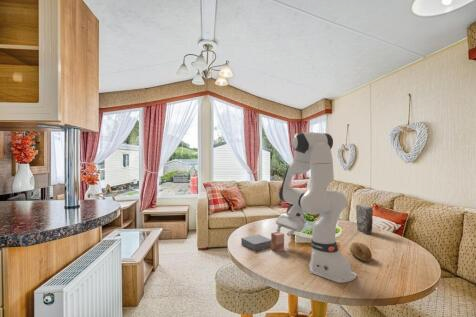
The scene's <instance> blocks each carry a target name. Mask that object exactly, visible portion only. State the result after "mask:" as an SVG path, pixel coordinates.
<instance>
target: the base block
mask: <svg viewBox="0 0 476 317" xmlns="http://www.w3.org/2000/svg"><path fill="white" fill-rule="evenodd" d="M240 240H241V245H242V246H244V247H246V248H247V249H250V250H252V251H253V252H257V251H260V250H264V249H269V248H271V238H268V237H266V236H264V235H260V234H255V235H250V236H245V237H241V239H240Z"/></svg>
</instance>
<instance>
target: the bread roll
mask: <svg viewBox="0 0 476 317" xmlns="http://www.w3.org/2000/svg"><path fill="white" fill-rule="evenodd" d="M349 252H350V254H352V255H353V256H354V257H355V258H357V259H358V260H360V261H363V262H369V261H371V260H372V257H373V256H372V255H373V254H372V251H371V249H370V248H369V246H367V244H365V243H362V242H352V243H351V244H350V247H349Z"/></svg>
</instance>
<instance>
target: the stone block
mask: <svg viewBox="0 0 476 317" xmlns="http://www.w3.org/2000/svg"><path fill="white" fill-rule="evenodd" d="M355 211H356V212H355V214H356V230H357V231H359V232H361V233H362V234H365V235H368V236H369V235H372V232H373V220H374V219H373V216H374V213H373V212H374V210H373V207H372V206H371V205H367V204H356V205H355Z"/></svg>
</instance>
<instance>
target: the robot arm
mask: <svg viewBox="0 0 476 317" xmlns="http://www.w3.org/2000/svg"><path fill="white" fill-rule="evenodd" d="M333 146H334V139H333V136H332V135H331V134H329V133H325V132H313V131H312V132H311V131H310V132H308V131H307V132H297V133H296V134H294V136H293V137H292V148H293V150H295V151H294V155H293V159H292V162H291V163H290V164H288V165H287V168H286V170H285V173H284V177H283V179H282V180H283V181H282V184H281V187H280V189H279V191H278V197H279V199H280V201H283V202H287V203H288V204H289V203H291V204H293V206H292V207H291V208H290V210H289V211H288V213H287V212H283V213H281V214H280V215H279V216H278V217H277V219H276V220H275V223H276V225H277V228H276V230H275V232H280V233H281V229H282V228H286V229H287V230H290V231H288V232H287V233H286V235H287V236H288V237H291V236H292V234H294V233H300V232H302V231H303V229H304V228H305V226H306V224H307V222H308V220H307V219H306V218H305V216H304V214H305V213H306V214H308V215H318V217H317V218H316V220H315V221H313V223H312V226H311V227H312V228H311V231H312V232H311V233H312V234H311V236H312V237H311V242H310V246H311V255H310V261H309V264H308V268H309V273H311V274H313V275H316V276H319V277H321V278H325V279H327V280H329V281H332V282H335V283H338V284H344V283H348V282H351V281H354V280H355V279H356V278H357V273H356V272H354V271H352V266H351V262H350V261H349V260H348V259H347V258H346V257H345V256H344V255H343V253H342V252H341V251H340V250H339V248H340V247H341V244H338V243H337V241H336V229H337V228H336V227H337V224H338V223H337V222H338V219H339V218H340V216H341V213H342V212H343V210H345V209H346V207H347V205H348V204H347V203H348V200H347V197H346V195H345V194H344V193H343V192H341V191H336V190H328V187H329V185H330V184H331V183H332V182H333V181H334V178H335V175H334V161H333V154H332V148H333ZM309 171H310V180H309V181H310V182H309V184H308V188H307V190H306V192H304V191H302V190H299V189H296V188H293V187H292V186H291V183H292V181H293V176H294V175H301V174H306V173H308V172H309Z"/></svg>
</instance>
